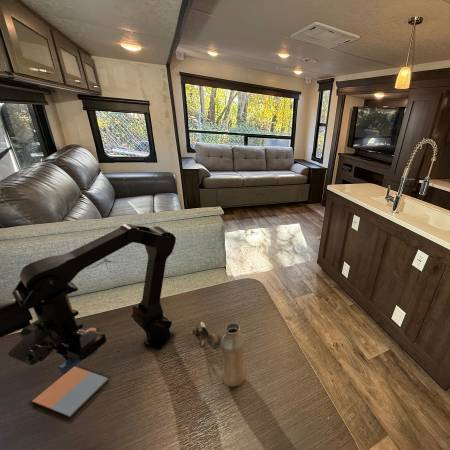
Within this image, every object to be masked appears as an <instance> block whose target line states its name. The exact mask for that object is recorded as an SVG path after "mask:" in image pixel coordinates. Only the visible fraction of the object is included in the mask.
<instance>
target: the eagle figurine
mask: <svg viewBox="0 0 450 450" xmlns="http://www.w3.org/2000/svg"><path fill="white" fill-rule="evenodd" d="M200 327H201V329H200V330H199V327H198V326H197V325H196V326H195V328H196V329H192V332H189V333H188V332H187V335H188V336H195V337H196V338H200V347H203V345H204V344H205V340H206V342H207V343H208V344H209V345H212V347H213V348H217V347H219V346H220V342H221V337H220V336H219V334H217V333H216V331H213V330H210V329H207V327H206V324H205V323H204V322H203V321H201V322H200Z"/></svg>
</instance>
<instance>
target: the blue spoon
mask: <svg viewBox="0 0 450 450" xmlns="http://www.w3.org/2000/svg"><path fill="white" fill-rule="evenodd" d="M98 350H99V348H98V349H97V350H96V351H94V352H93V353H92V354H91V355H89V356H88V357H92V356H93V355H95V354H96V353H97V352H98ZM82 361H83V360H81V361H79V360H78V361H76V362H75V363H72V362H71V361H70V359H68V360H65V361H64V362H63V363H62V364H60V365H59V366H58V369H59V370H60V373H61V374H63V375H64V374H66V373H67V372H68V371H69V370H70V369H72V368H73V367H74V366H75V367H76V366H77V365H78V364H79V363H80V362H82Z"/></svg>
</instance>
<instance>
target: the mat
mask: <svg viewBox="0 0 450 450" xmlns="http://www.w3.org/2000/svg"><path fill="white" fill-rule="evenodd" d="M107 381H109V378H108V377H105V376H103V375H100V374H98V373H95V372H91V371H89V370H85V369H84V368H80V367H78V366H76V365H75V366H74V367H73V368H72V369H70V370H69V371H68V372H67V373H66V374H64V373H63V375H62V376H60V377H59V378H58V379H57V380H56V381H54V382H53V383H52V384H51V385H49V386H48V387H47V388H46V389H44V390H43V391H42V392H41V393H40V394H38V396H36V397H35V398H34V399H32V402H31V403H33V404H36V405H39V406H41V407H44V408H46V409H49V410H50V411H53V412H56V413H58V414H61V415H64V416H66V417H68V418H71V417H72V416H73V415H74V414H75V413H76V412H77V411H78V410H79V409H80V408H81V407H82V406H83V405H84V404H86V402H87V401H88V400H89V399H90V398H91V397H92V396H93V395H95V393H96V392H98V391H99V390H100V388H101V387H103V386H104V385H105V383H106V382H107Z"/></svg>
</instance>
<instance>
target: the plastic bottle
mask: <svg viewBox="0 0 450 450" xmlns="http://www.w3.org/2000/svg"><path fill="white" fill-rule="evenodd" d="M224 329H225V331H224V335H223V336H222V338H220V345H219V346H220V347H219V348H220V351H221V354H222V360H223V365H222V371H221V378H222V381H223V384H225V385H226V386H227V387H233V388H234V387H238V386H239V385H241V384H243V382H244V380H245V378H246V373H247V371H246V366H245V363H244V353H245V347H246V339H245V337H244V335H243V334H242V333H241V326H240V325H239V323H237V322H231V323H229V324H227V325H226V326H225V328H224Z"/></svg>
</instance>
